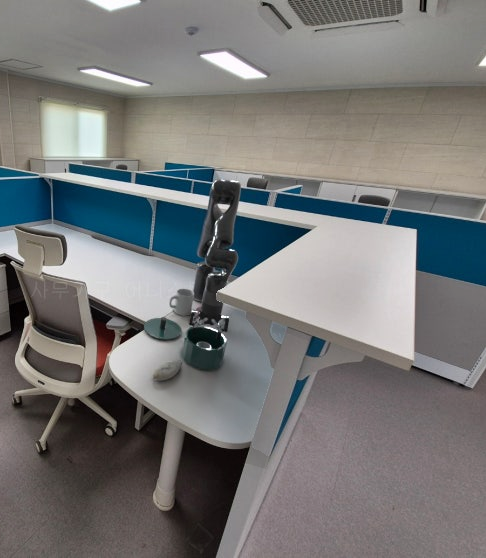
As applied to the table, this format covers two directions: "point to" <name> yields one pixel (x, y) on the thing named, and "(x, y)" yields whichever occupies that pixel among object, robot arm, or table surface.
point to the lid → (162, 328)
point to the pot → (203, 356)
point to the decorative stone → (167, 370)
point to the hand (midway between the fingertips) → (205, 336)
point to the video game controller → (198, 311)
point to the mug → (182, 302)
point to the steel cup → (204, 345)
